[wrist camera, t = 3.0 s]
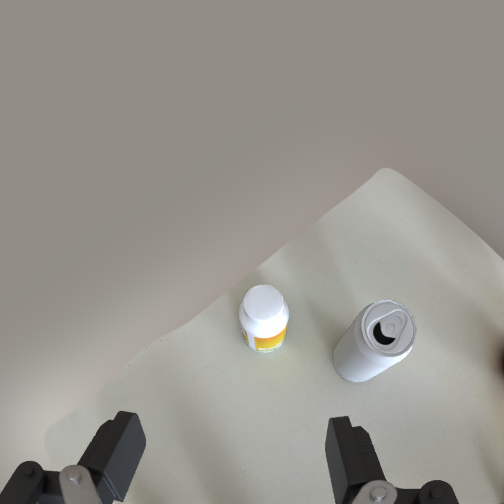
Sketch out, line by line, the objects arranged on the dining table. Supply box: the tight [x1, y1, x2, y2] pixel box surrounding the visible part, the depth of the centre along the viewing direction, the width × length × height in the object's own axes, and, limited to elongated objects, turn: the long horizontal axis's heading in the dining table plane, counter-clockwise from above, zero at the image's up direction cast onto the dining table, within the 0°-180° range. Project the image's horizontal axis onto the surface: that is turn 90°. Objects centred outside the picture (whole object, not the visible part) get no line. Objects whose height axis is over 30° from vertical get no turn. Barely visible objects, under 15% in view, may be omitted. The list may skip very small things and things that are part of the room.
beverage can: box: [333, 300, 416, 382], centre depth 30 cm, size 6×6×12 cm
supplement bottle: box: [239, 284, 289, 352], centre depth 34 cm, size 5×5×10 cm
